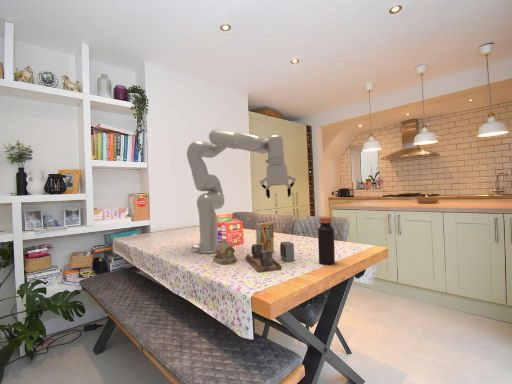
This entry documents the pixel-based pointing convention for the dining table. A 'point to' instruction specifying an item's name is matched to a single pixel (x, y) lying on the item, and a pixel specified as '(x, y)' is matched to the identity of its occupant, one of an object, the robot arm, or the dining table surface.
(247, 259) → the brown display stand
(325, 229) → the bottle
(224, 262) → the ceramic model
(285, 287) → the dining table surface
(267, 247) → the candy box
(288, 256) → the finger block
